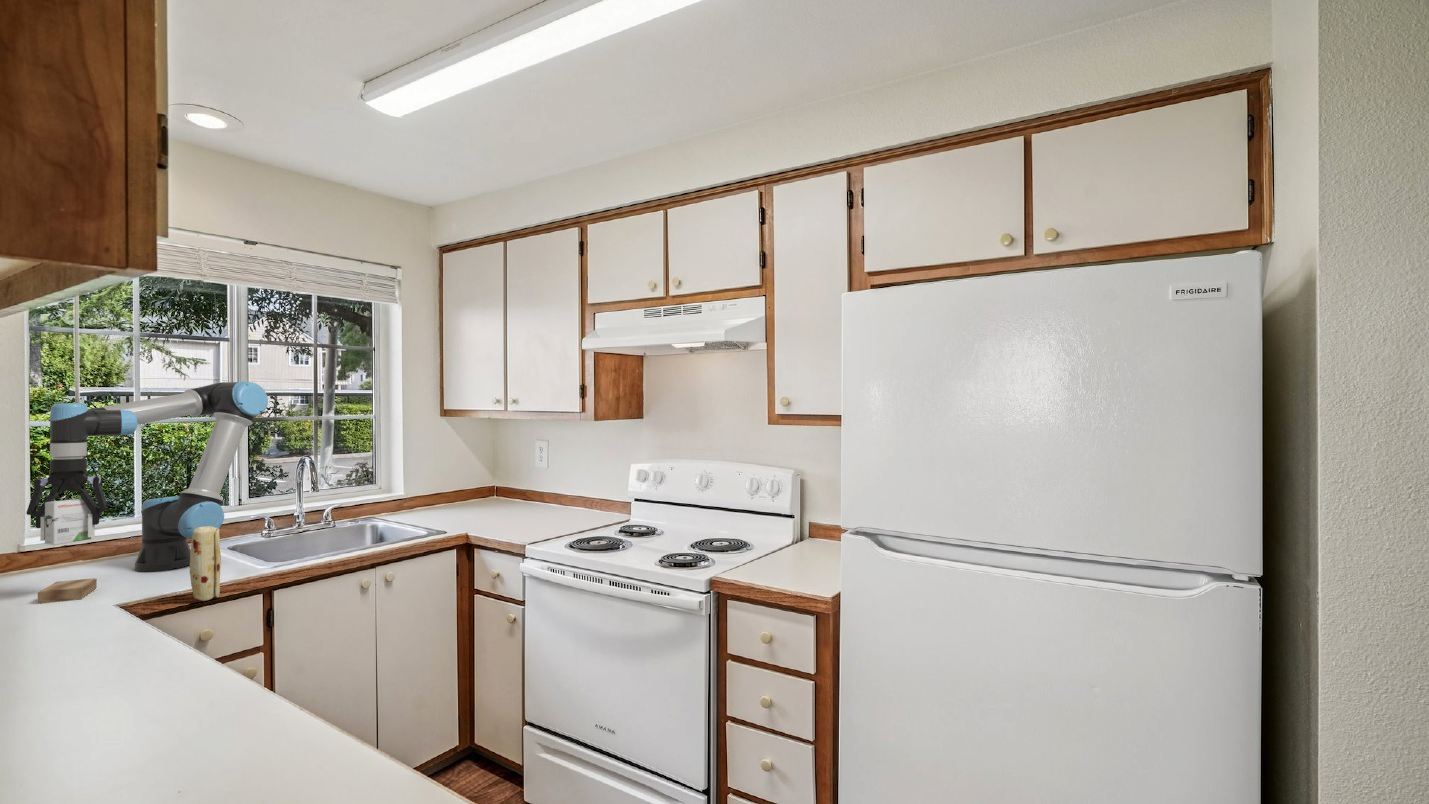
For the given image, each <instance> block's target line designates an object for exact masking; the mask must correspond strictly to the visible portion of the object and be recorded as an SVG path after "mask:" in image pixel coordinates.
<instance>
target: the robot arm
mask: <svg viewBox="0 0 1429 804" xmlns="http://www.w3.org/2000/svg"><path fill="white" fill-rule="evenodd" d="M268 403H269V398H268V394H267V393H266V391H265V389H264V388H263V387H262V386H261V385H260V384H258V383H256V382H252V381H245V380H243V381H232V382H229V381H228V382H227V381H224V382H217V383H212V384H208V385H204V386H200V387H199V386H198V387H194V388H189V389H188V388H187V389H186V390H184V391H183V393H179V394H169V395H166V396H165V395H164V396H160V397H153V398H147V399H141V400H136V401H135V400H134V401H130V402H124V403H123V402H122V403H118V404H111V405H105V406H100V407H93V408H88V406H87V404H86V403H77V402H76V403H75V402H74V403H71V402H70V403H68V402H67V403H66V402H64V403H61V402H60V403H54V404H52V405H51V408H50V412H49V413H50V414H49V427H50V428H49V431H50V433H49V434H50V435H49V437H50V439H49V440H50V441H49V457H50V458H52V459H51V460H49V476H48V477H46V478H40V477H39V478H36V479H33V480H34V481H33V485H34V489H33V492H32V495H31V498H30V501H29V503H28V507H27V511H26V512H25V514H26V515H27V516H34V517H35V527H36V529H40V537H39V538H40V542H41V541H44V542H45V503H46V502H52V501H55V500H56V499H57V497H58V495H59V494H60V493H63V492H76V493H77V494H78V495H79V497H80V498H82V499H83V501H84V502H85V504H86V505H87V507H88V508H89V509H90V511H91V513H90V514H88V537H91V538H93V537H95V532H96V531H95V529H96V528H95V527H96V526H95V525H99V523H100V513H101V512H104V511H107V510H108V508H109V506H108V504H107V500H106V497H105V493H104V490H103V487H102V476H99V475H98V476H90V475H89V474H88V468H87V467H88V465H87V464H88V459H86V458H85V457H87V455H88V454H87V453H88V452H87V451H88V437H99V436H100V437H103V436H105V437H106V436H107V437H109V436H118V437H119V436H120V437H121V436H126V435H127V436H129V435H130V436H131V435H132V434H134V433H135V432H136V430H137V428H138V426H139V425H143V424H148V423H154V422H159V421H164V420H170V419H176V418H181V417H186V416H190V417H200V416H213V417H214V418H215V423H214V426H213V428H212V430H211V433H210V436H209V437H208V440H207V443H206V445H205V447H204V451H203V453H202V455H201V458H200V460H199V462H198V464H197V467H196V469H195V472H194V474H193V476H192V477H193V478H192V479H191V482H190V484H189V486H188V488H187V489H184V490H183V491H181V492H180V494H179V495H175V496H173V495H172V496H166V497H159V498H149V499H146V500H144V501H143V503H142V505H141V547H140V549H139V552H138V555H137V557H136V560H135V562H134V570H135V571H136V570H137V571H136V572H144V571H147V572H160V571H161V570H162V571H168V570H167V569H170V570H173V569H172V568H176V569H181V568H185V567H187V566H186V565H189V566H190V551H191V546H190V545H189V542H188V539H192V534H193V531H194V530H195V529H196V528H199V527H207V526H211V527H214V528H219V529H220V528H221V526H222V524H223V523H224V519H225V512H223V511H224V510H223V507H222V503H223V498H222V497H221V495H220V494H221V493H222V492H221V491H222V489H223V487H224V483H225V482H226V479H227V476H228V474H229V471H230V468H231V466H232V463H233V460H234V459H235V455H236V453H237V450H238V447H239V446H240V443H241V439H242V438H243V435H244V432H245V430H246V428H247V427H250V426H252V425H253V423H254V421H255V418H256V416H259V415H261V414H263V413H264V412H265V411H266V409H267V408H268ZM88 481H89V484H91V485H92V489H93V493H94V496H95V499H96V502H97V504H96V502H95V501H94V499H93V498H92V496H91V495H90V493H89V492H88V490H87V488H86V487H85V484H86V483H87V482H88ZM48 483H49V485H51V486H52V488H51V489H50V491H49V494H48V495H47V497H46V498H45V499H44V501H43V502H42V504H41V506H40V507H39V505H40V501H41V497H42V495H43V493H44V492H43V491H44V489H45V486H46V485H47V484H48ZM38 507H39V508H38ZM184 566H185V567H184ZM180 567H181V568H180Z"/></svg>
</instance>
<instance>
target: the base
mask: <svg viewBox="0 0 1429 804" xmlns="http://www.w3.org/2000/svg"><path fill="white" fill-rule="evenodd" d="M97 579H98V578H95V577H94V578H84V579H83V578H82V579H73V580H72V579H71V580H63V581H62V580H61V581H55V582H54V583H52V584H50V585H48V586H46V587H45V588H43V589H42V590H39V591H38V592H37V604H38V605H39V604H48V603H49V604H50V603H57V602H58V603H60V602H69V601H76V600H82V598H83V599H84V598H86V597H87V596H89V595H90V594H92V593H93V592H95V591H96V590H97V589H96V588H98V587H97V585H98V582H97V581H98V580H97ZM95 589H96V590H95ZM94 590H95V591H94ZM92 591H93V592H92ZM91 592H92V593H91ZM88 594H89V595H88ZM85 596H86V597H85Z"/></svg>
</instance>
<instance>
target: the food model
mask: <svg viewBox="0 0 1429 804" xmlns="http://www.w3.org/2000/svg"><path fill="white" fill-rule="evenodd" d="M190 550H191V551H190V565H189V575H190V585H191V590H192V598H193V600H194V602H195V603H196V602H197V603H200V602H205V601H209V600H212V599H214V597H215V598H219V597H220V589H221V588H220V586H221V584H220V583H221V564H222V561H221V560H222V554H221V540H220V528H214V527H211V526H207V527H199V528H196V529H195V530H194V531H193V534H192V538H191V545H190Z"/></svg>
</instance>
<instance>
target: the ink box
mask: <svg viewBox="0 0 1429 804" xmlns="http://www.w3.org/2000/svg"><path fill="white" fill-rule="evenodd" d="M90 513H92V512H91V511H90V509H89V508H88V507H87V505H86V504H85V502H84V501H83V499H82V498H81V497H80V498H73V499H72V498H71V499H64V500H56V501H55V500H54V501H52V502H46V503H45V515H44V516H45V540H44V544H45V545H50V546H51V545H52V546H55V545H62V544H68V543H74V542H81V541H86V540H91V539H92V537H88V514H90Z"/></svg>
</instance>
